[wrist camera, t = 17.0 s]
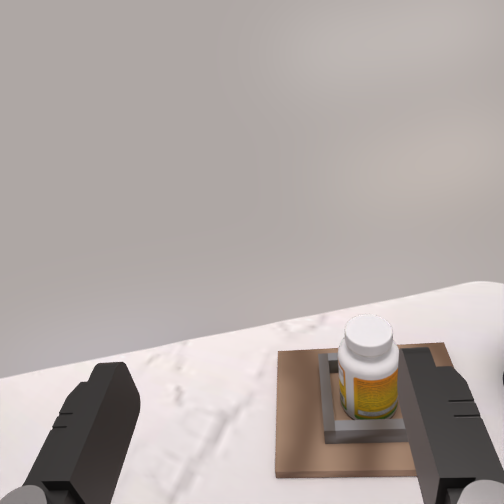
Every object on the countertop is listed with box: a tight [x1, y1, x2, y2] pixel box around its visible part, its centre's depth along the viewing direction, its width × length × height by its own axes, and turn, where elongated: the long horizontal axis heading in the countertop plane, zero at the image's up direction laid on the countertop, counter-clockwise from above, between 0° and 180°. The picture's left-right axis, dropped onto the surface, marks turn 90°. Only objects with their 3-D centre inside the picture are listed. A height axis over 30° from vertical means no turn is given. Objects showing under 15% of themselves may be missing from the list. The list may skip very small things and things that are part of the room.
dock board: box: [275, 342, 454, 478], centre depth 42 cm, size 18×14×3 cm
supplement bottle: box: [338, 314, 399, 420], centre depth 40 cm, size 5×5×10 cm
